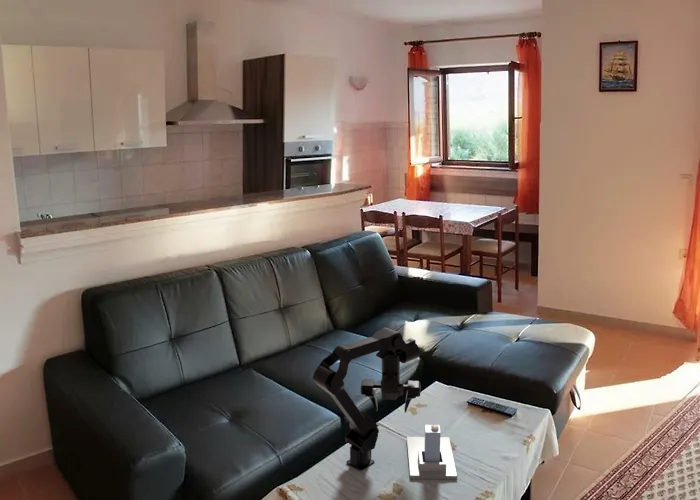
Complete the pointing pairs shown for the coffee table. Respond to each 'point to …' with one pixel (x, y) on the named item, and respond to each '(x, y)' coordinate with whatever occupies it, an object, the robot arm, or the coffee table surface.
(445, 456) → the plate
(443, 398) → the coffee table surface
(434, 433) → the block
